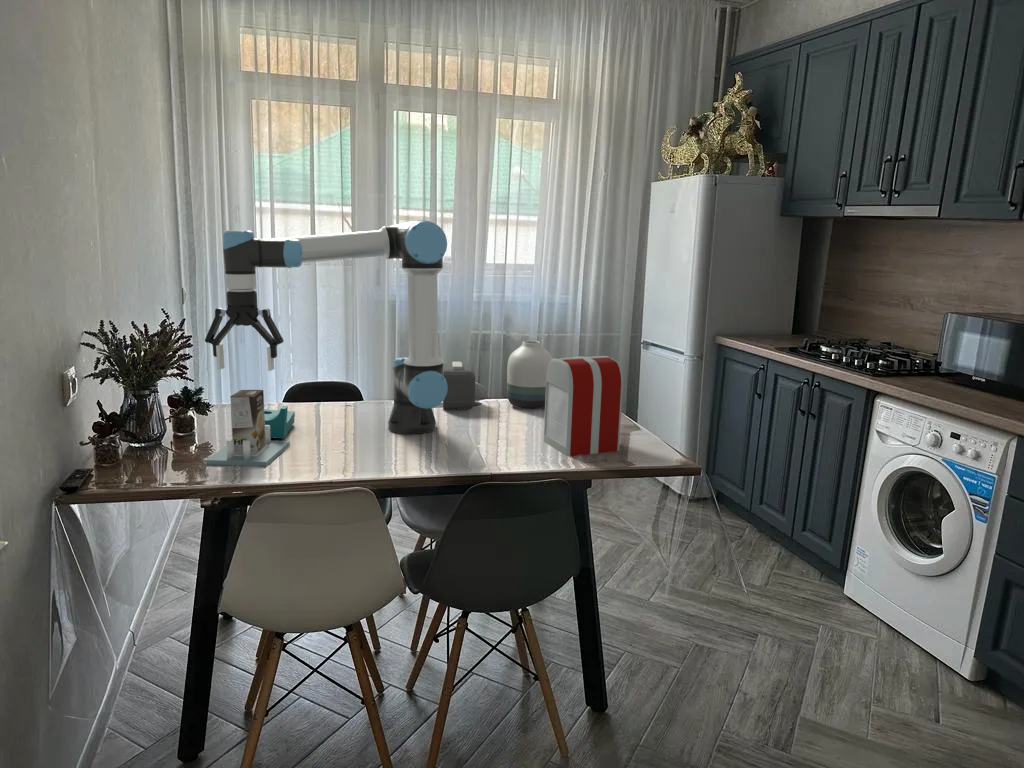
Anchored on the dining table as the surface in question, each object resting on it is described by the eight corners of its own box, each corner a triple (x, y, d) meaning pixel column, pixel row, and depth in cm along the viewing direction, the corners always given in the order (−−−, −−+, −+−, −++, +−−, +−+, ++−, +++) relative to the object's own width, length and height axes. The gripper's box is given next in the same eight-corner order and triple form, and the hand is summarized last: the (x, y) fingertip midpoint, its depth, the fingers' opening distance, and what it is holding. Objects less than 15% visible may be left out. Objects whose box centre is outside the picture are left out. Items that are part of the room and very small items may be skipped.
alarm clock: (442, 400, 263) (442, 359, 260) (472, 400, 264) (473, 360, 261) (443, 411, 247) (443, 368, 244) (475, 411, 248) (475, 368, 245)
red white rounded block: (542, 440, 214) (545, 354, 209) (592, 436, 221) (597, 351, 215) (567, 456, 199) (571, 363, 194) (620, 450, 206) (626, 360, 201)
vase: (553, 412, 249) (556, 346, 244) (505, 411, 249) (507, 344, 244) (551, 401, 266) (553, 339, 261) (507, 400, 266) (508, 338, 261)
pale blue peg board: (290, 445, 203) (289, 424, 201) (266, 466, 184) (265, 443, 183) (235, 443, 203) (233, 422, 202) (206, 464, 184) (204, 441, 183)
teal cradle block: (283, 443, 207) (285, 408, 205) (245, 440, 205) (247, 405, 203) (293, 426, 225) (295, 395, 223) (259, 424, 223) (260, 392, 221)
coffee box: (257, 454, 189) (254, 396, 186) (232, 454, 189) (229, 396, 185) (266, 444, 198) (263, 389, 195) (243, 444, 197) (240, 389, 194)
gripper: (293, 290, 188) (296, 367, 192) (200, 288, 188) (206, 365, 192) (283, 292, 180) (287, 373, 185) (187, 290, 181) (193, 370, 185)
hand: (246, 369), depth 189 cm, fingers open, 13 cm apart
